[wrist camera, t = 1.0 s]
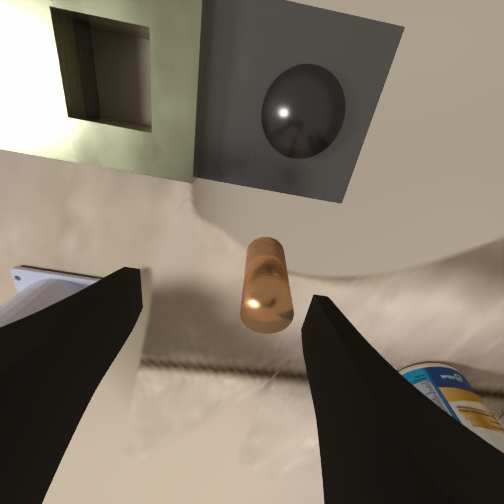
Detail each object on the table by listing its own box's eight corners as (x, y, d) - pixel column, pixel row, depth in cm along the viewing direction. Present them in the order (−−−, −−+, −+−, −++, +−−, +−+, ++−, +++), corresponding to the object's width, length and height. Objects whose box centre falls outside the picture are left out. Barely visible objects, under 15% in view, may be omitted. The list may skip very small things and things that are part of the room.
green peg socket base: (335, 196, 18) (353, 217, 14) (-81, 121, 16) (-174, 123, 13) (390, 35, 13) (436, 7, 10) (-169, -89, 12) (-348, -172, 8)
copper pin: (279, 271, 21) (286, 336, 15) (244, 266, 21) (236, 329, 15) (287, 240, 20) (299, 298, 13) (250, 234, 19) (244, 289, 13)
